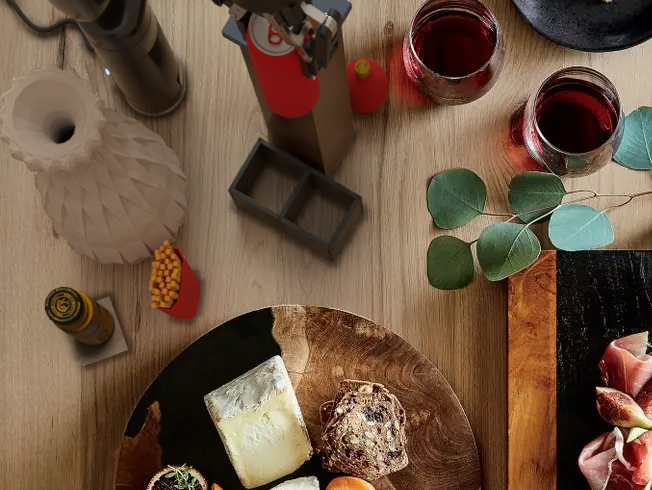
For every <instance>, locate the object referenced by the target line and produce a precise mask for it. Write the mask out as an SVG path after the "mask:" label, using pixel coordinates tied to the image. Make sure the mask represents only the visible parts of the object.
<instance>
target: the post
mask: <svg viewBox="0 0 652 490" xmlns="http://www.w3.org/2000/svg"><path fill="white" fill-rule="evenodd" d="M239 50H240V52H241V55H242V58H243V61H244V64H245V67H246V70H247V73H248V75H249V79H250V81H251V84H252V88H253V91H254V93H255V96H256V99H257V102H258V105H259V107H260V110H261V114H262V117H263V119H264V122H265V126H266V128H267V131H268V134H269V137H270V141H271V144H272V145H274V146H276V147H278V148H279V149H281V150H283V151H285V152H286V153H288V154H290V155H291V156H293V157H295V158H297V159H298V160H300V161H302V162H303V163H305V164H307V165H309V166H310V167H312V168H314V169H315V170H317V171H319V172H321V173H322V174H324V175H326V176H328V177H329V178H332V175H333V174H334V172H335V170H336V168H337V166H338V165H339V163H340V162H341V159H342V158H343V156H344V154H345V153H346V151H347V149H348V147H349V146H350V145H351V143H352V141H353V139H354V138H355V128H354V120H353V113H352V111H353V110H352V109H351V102H350V93H349V85H348V76H347V68H346V66H347V59H346V51H345V43H344V34H343V25H342V26H341V35H340V46H339V48H338V49H337V51H336V53H335V54H334V56H333V58H332V59H331V61H330V63H329V64H328V66H327V68H322V67H321V69H320V71H319V72H318V75H319V81H320V95H319V99H318V101H317V103H316V104H315V106H314V107H313V108H312V109H311V110H310V111H309V112H308V113H306V114H304V115H302V116H299V117H293V118H290V117H284V116H281V115H278V114H277V113H275V112H274V111H273V110H271V109H270V107H269V106H268V105H267V103H266V101H265V99H264V96H263V93H262V90H261V87H260V84H259V81H258V77H257V74H256V71H255V68H254V65H253V62H252V59H251V55H250V52H249V51H247V50H245V49H244V48H242V47H240V46H239Z"/></svg>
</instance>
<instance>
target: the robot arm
mask: <svg viewBox="0 0 652 490" xmlns="http://www.w3.org/2000/svg"><path fill="white" fill-rule="evenodd" d="M5 1H6V3H8V4H10V5H11V6H12V7H13V9H14V10H15V12H16V13H17V15H18V16H19V17H20V19H21V20H22V21H23V22H24V23H25V24H26V25H27V26H28V27H29V28H30V29H32V30H33V31H35V32H37V33H41V34H49V33H52V32H54V31H57V30H59V29H61V28H62V27H64V26H66V25H70V24H71V25H75V26H76V27H78V28H79V29H80V31H81V34H82V36H83V39H84V42H85V45H86V46H87V48H88V49H89V51H91V52H95V54H96V56H97V58H98V59H99V60H100V62H101V64H102V65H103V67H104V68H105V72H106V75H107V76H110V77H111V78H112V80H113V82H114V83H115V85H116V86H117V88H118V89H119V90H120V91H121V92H122V94H123V96H124V98H125V100H126V101H127V104H128V105H130V107H131V108H132V109H133V110H134V111H135V112H137V113H138V114H140V115H142V116H146V117H153V118H159V117H163V116H166V115H168V114H171V113H172V112H173V111H174V110H176V109H177V108H178V107H179V106H180V104H181V103H182V102H183V100H184V97H185V95H186V92H187V78H186V75H185V72H184V70H183V62H182V61H181V58H178V59H177V57H176V54H175V53H174V51H173V48H172V46H171V45H170V43H169V41H168V38H167V37H166V34H165V33H164V30H163V29H162V27H161V25H160V21H159V20H158V18H157V16H156V14H155V12H154V10H153V7H152V6H151V4H150V1H149V0H47V2H49V4H50V5H52V6H53V7H54V8H55V9H56V10H58V12H60V13H62V14H63V15H65V16H66V17H68V18H64V19H61V20H59V21H58V22H56V23H54V24H52V25H50V26H47V27H41V26H38V25H36V24H35V23H33V22H32V21H31V20H30V19H29V18H28V17H27V16H26V14H25V13H24V12H23V10H22V9H21V8H20V7H19V5H18V4H17V2H16V0H5ZM211 2H212V3H213V4H214V5H215V6H216V7H219V8H222V7H223V6H226V7H227V8H228V11H227V13H228V14H229V17H230V16H231V17H232V18H233V19H235V21H236V24H237V27H238V29H239V31H240V32H241V34H242V37H243V40H244V41H246V42H247V40H246V33H247V28H248V25H249V21H250V18H251V15H252V13H255V14H257V15H258V16H260V17H263V18H265V19H266V20H267V21H268V23H269V24H271V25H273V26H274V27H275V29H276V30H277V31H278V33H279V34H280V36H281V37H282V39H283V40H284V42H285V43H286V44H287V45H290V46H294V48H295V49H296V51H297V52H298V53H299V55H300V62H301V67H302V72H303V76H305V77H307V78H308V79H311V78H312V76H315V77H316V76H317V74H318V72H319V71H320V69H321V67H322V68H327V66H328V64H329V63H330V61H331V59H332V58H333V56H334V54H335V53H336V51H337V49H338V48H339V46H340V35H341V20H342V16H341V14H340V13H339V12H338V11H337V10H336V9H334V8H330V10H329V11H328V13H323V12H322V11H320V10H319V9H317V8H316V7H314V6H313V2H312V0H211ZM292 26H293V27H292ZM290 27H292V29H291V30H290V29H289V28H290ZM307 33H308V34H309V36H310V37H309V39H308V40H307V42H306V44H305V43H304V38H305V36H306V34H307Z"/></svg>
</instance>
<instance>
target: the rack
mask: <svg viewBox="0 0 652 490" xmlns="http://www.w3.org/2000/svg"><path fill="white" fill-rule="evenodd" d="M267 163H269V164H271V165H273V166H274V167H277V168H278V169H279V170H282V171H284V172H285V173H287V174H289V175H290V176H292V177H294V178H295V179H297V180H298V183H297V184H296V186H295V187H294V188H293V191H292V193H291V194H290V196H289V197H288V200H287V201H286V202H285V204H284V206H283V208H282V210H281V211H280V213H279V214H278V213H277V212H276V211H273V210H272V209H270V208H269V207H266V206H265V205H263V204H262V203H260V202H258V201H257V200H254V199H253V198H251V197H250V196H249V194H250V192H251V190H252V189H253V187H254V186H255V184H256V182H257V181H258V179H259V177H260V175H261V174H262V172H263V170H264V168H265V167H266V165H267ZM314 190H316V191H318V192H319V193H320V194H323V195H325V196H326V197H328V198H330V199H331V200H332V201H335V202H337V203H338V204H340V205H342V206H344V207H345V208H347V209H348V210H347V211H346V214H345V215H344V217H343V218H342V220H341V222H340V224H339V225H338V227H337V229H336V231H335V232H334V234H333V236H332V237H331V239H330V241H329V242H326V241H325V240H323V239H322V238H320V237H318V236H316V235H315V234H313V233H311V232H310V231H308V230H306V229H304V228H303V227H301V226H299V225H298V224H296V221H297V220H298V218H299V216H300V214H301V212H302V211H303V209H304V207H306V204H307V202H308V200H309V199H310V197H311V196H312V194H313V193H314ZM227 192H228V194H229V196H230V197H231V199H232V201H233V203H234V205H235V207H237V208H238V209H239V210H242V211H243V212H245V213H246V214H248V215H250V216H253V217H254V218H256V219H257V220H259V221H261V223H264V224H266V225H267V226H269V227H271V228H272V229H274V230H276V231H277V232H279V233H281V234H283V235H285V236H286V237H288V238H290V239H291V240H293V241H295V242H296V243H298V244H300V245H301V246H303V247H305V248H307V249H309V250H310V251H312V252H314V253H316V254H317V255H319V256H320V257H322V258H324V259H326V260H327V261H329V262H330V263H332V264H335V262H336V260H337V259H338V257H339V255H340V254H341V252H342V250H343V248H344V247H345V245H346V244H347V242H348V240H349V238H350V237H351V235H352V233H353V231H354V230H355V228H356V227H357V225H358V223H359V222H360V220H361V218H362V217H363V215H364V211H365V210H364V203H363V196H362V195H360V194H359V193H357V192H355V191H353V190H351V189H350V188H348V187H346V186H345V185H343V184H342V183H340V182H338V181H336V180H334V179H333V178H332V177H330V178H329V177H328V176H326V175H324V174H322V173H321V172H319V171H317V170H315V169H314V168H312V167H310V166H309V165H307V164H305V163H303V162H302V161H300V160H298V159H297V158H295V157H293V156H291V155H290V154H288V153H286V152H285V151H283V150H281V149H279V148H278V147H276V146H274V145H273V143H272V142H269V141H267V140H266V139H264V138H262V137H261V136H258V137H257V140H256V141H255V143H254V145H253V146H252V148H251V150H250V152H249V153H248V155H247V157H245V160H244V162H243V164H242V166H241V167H240V169H239V170H238V172H237V174H236V176H235V177H234V178H233V181H232V183H231V184H230V186H229V188H228V189H227Z"/></svg>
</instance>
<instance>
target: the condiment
mask: <svg viewBox="0 0 652 490" xmlns="http://www.w3.org/2000/svg"><path fill="white" fill-rule="evenodd" d="M44 311H45V314H46V316H47V318H48V320H49V321H51V322H52V323H53V325H54V326H55V327H56V328H57V329H58V330H60V331H62V332H63V333H65V334H67V335H69V336H71V339H72V341H73V344H74V348H75V350H76V353H77V355H78V359H79V362H80V365H81V367H85V366H88V365H91V364H94V363H96V362H100V361H102V360H105V359H107V358H111V357H112V356H116V355H118V354H121V353H123V352H126V351H128V350H129V348H128V345H127V342H126V339H125V337H124V333H123V331H122V329H121V324H120V322H119V320H118V316H117V314H116V311H115V307H114V305H113V303H112V300H111V298H110V296H107V297H104V298H101V299H98V300H95V299H93V298H92V297H90V296H88V294H86V293H84V292H82V291H81V290H78V289H74V288H72V287H69V286H60V287H56V288H54V289H52V290H51V291H50V292H49V293H48V295H47V296H46V298H45V300H44Z"/></svg>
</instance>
